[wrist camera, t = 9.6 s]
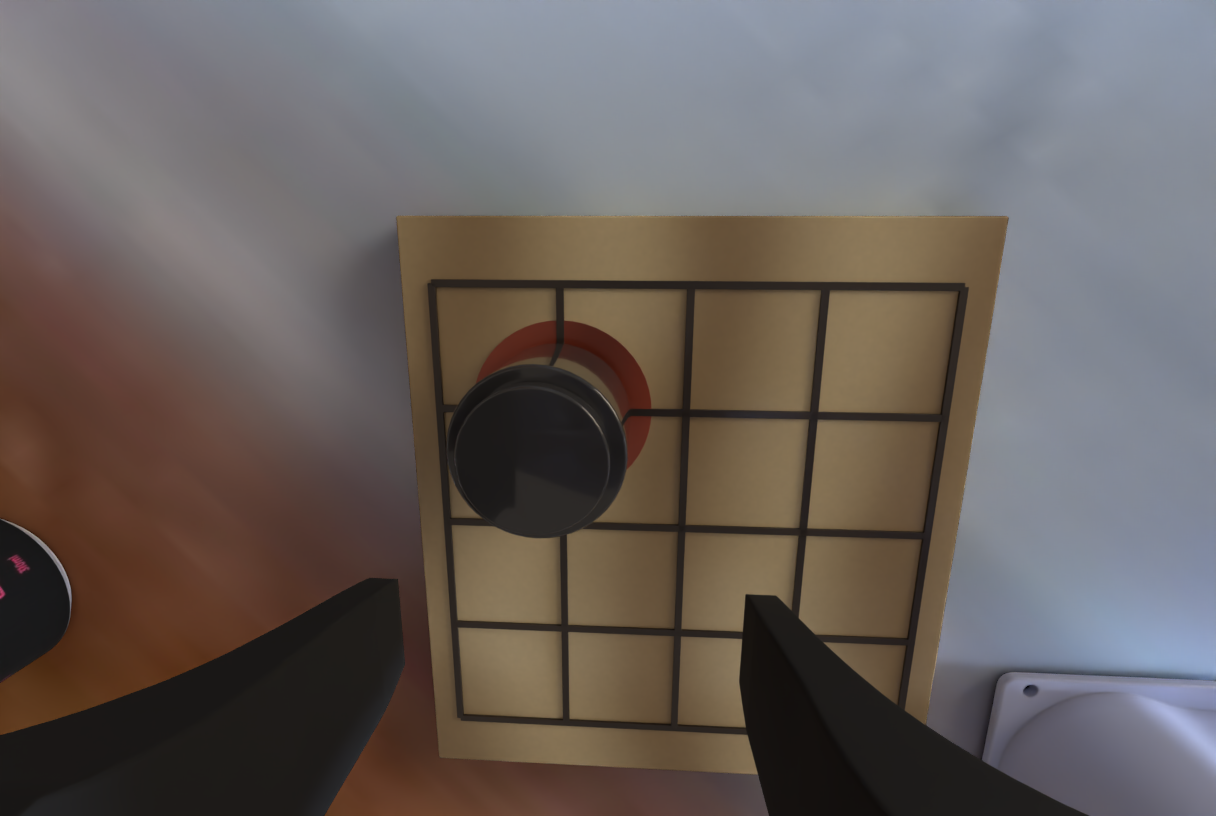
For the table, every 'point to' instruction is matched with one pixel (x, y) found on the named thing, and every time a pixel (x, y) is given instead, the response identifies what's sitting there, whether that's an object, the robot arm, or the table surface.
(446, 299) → the board
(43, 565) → the beverage can
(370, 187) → the table surface
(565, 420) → the black canister
